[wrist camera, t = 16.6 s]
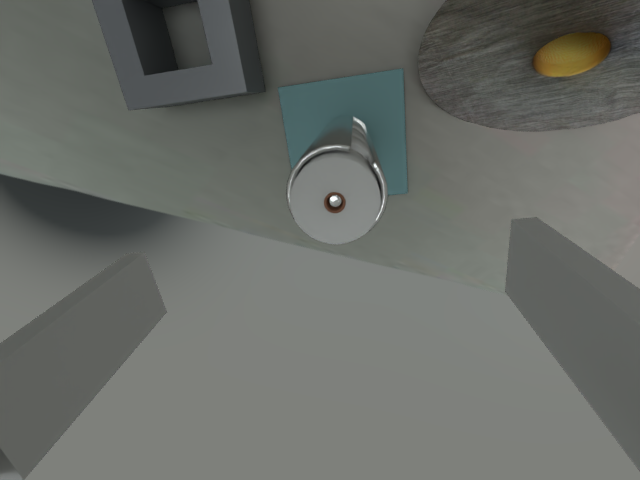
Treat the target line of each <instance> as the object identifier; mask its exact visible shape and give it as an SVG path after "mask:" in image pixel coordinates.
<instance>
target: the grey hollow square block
mask: <svg viewBox="0 0 640 480" xmlns="http://www.w3.org/2000/svg"><path fill="white" fill-rule="evenodd" d="M196 1H198V5H199V9H200V14H201V18H202V22H203V27H204V31H205V35H206V40H207V44H208V48H209V53H210V57H211V61H212V64H211V65H205V66H199V67H194V68H188V69H182V70H178V67H177V64H176V60H175V56H174V52H173V49H172V45H171V41H170V37H169V34H168V30H167V26H166V22H165V19H164V15H163V11H162V8H165V7H171V6H176V5H181V4H186V3H191V2H196ZM92 2H93V5H94V8H95V11H96V14H97V17H98V20H99V23H100V26H101V29H102V32H103V35H104V38H105V41H106V44H107V47H108V50H109V53H110V56H111V59H112V62H113V65H114V68H115V71H116V74H117V77H118V80H119V83H120V86H121V89H122V92H123V95H124V98H125V101H126V104H127V107H128V110H137V109H149V108H161V107H170V106H176V105H183V104H189V103H196V102H203V101H209V100H216V99H222V98H229V97H235V96H242V95H249V94H255V93H262V92H266V91H265V86H264V80H263V75H262V69H261V64H260V58H259V53H258V47H257V42H256V36H255V30H254V25H253V19H252V14H251V8H250V3H249V0H92Z"/></svg>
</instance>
